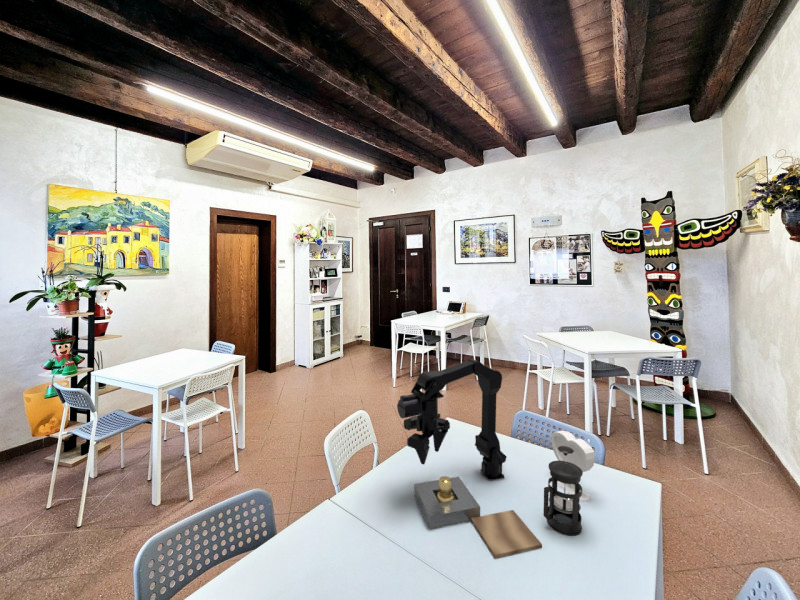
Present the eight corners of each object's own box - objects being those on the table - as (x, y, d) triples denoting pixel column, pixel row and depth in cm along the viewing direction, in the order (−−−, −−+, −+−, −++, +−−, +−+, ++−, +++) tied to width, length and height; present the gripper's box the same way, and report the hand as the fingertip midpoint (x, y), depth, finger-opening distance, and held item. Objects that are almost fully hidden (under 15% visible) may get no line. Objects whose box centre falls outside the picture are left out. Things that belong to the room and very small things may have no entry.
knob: (449, 500, 112) (449, 474, 112) (455, 510, 107) (455, 483, 107) (435, 503, 111) (435, 476, 110) (440, 513, 106) (440, 485, 106)
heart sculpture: (548, 476, 125) (549, 428, 123) (560, 473, 126) (561, 426, 125) (583, 503, 110) (584, 449, 109) (595, 500, 111) (597, 446, 110)
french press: (568, 510, 107) (569, 438, 105) (591, 532, 98) (594, 453, 96) (535, 516, 104) (536, 443, 102) (556, 540, 95) (557, 459, 93)
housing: (458, 487, 119) (458, 476, 119) (480, 519, 103) (480, 506, 103) (414, 495, 115) (414, 483, 115) (429, 529, 100) (429, 516, 99)
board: (512, 512, 106) (512, 509, 106) (542, 547, 92) (542, 544, 92) (471, 521, 103) (471, 518, 103) (494, 558, 89) (494, 555, 89)
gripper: (422, 398, 125) (423, 439, 126) (392, 416, 110) (393, 463, 111) (450, 404, 119) (450, 447, 120) (422, 424, 103) (423, 474, 105)
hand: (429, 457), depth 114 cm, fingers open, 9 cm apart
